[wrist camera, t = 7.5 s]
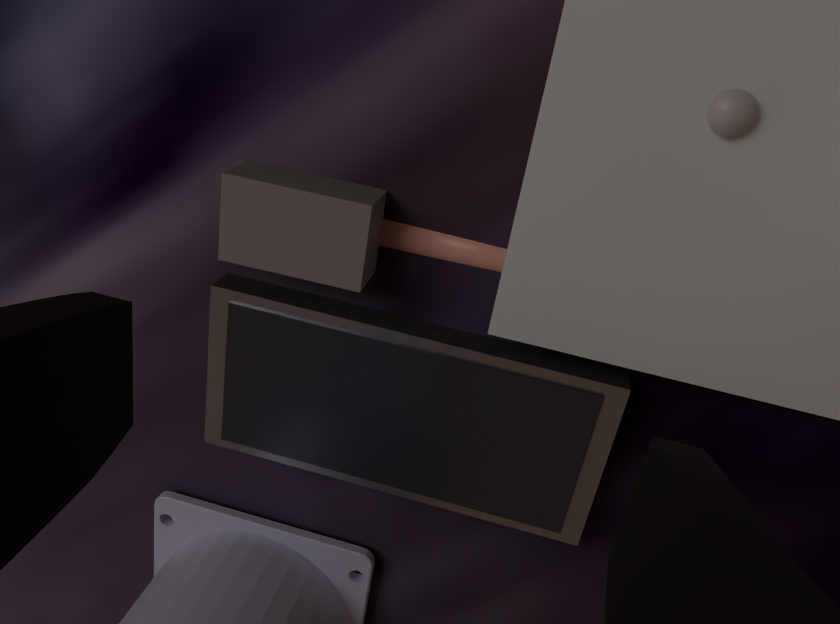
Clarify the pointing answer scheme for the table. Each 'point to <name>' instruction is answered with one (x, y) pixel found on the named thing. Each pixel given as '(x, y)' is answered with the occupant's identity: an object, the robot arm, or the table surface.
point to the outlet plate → (687, 197)
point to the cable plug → (323, 228)
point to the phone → (410, 407)
